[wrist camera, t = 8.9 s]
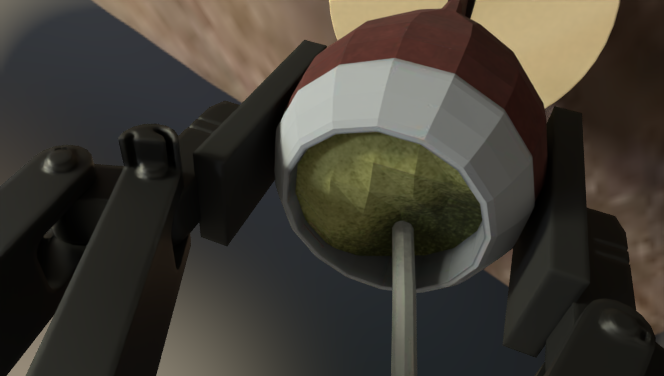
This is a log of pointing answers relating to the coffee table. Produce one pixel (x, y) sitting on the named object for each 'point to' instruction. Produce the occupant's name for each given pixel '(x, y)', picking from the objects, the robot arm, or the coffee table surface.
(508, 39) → the jar
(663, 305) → the coffee table surface
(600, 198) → the coffee table surface
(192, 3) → the coffee table surface
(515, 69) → the mate gourd
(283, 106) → the robot arm
